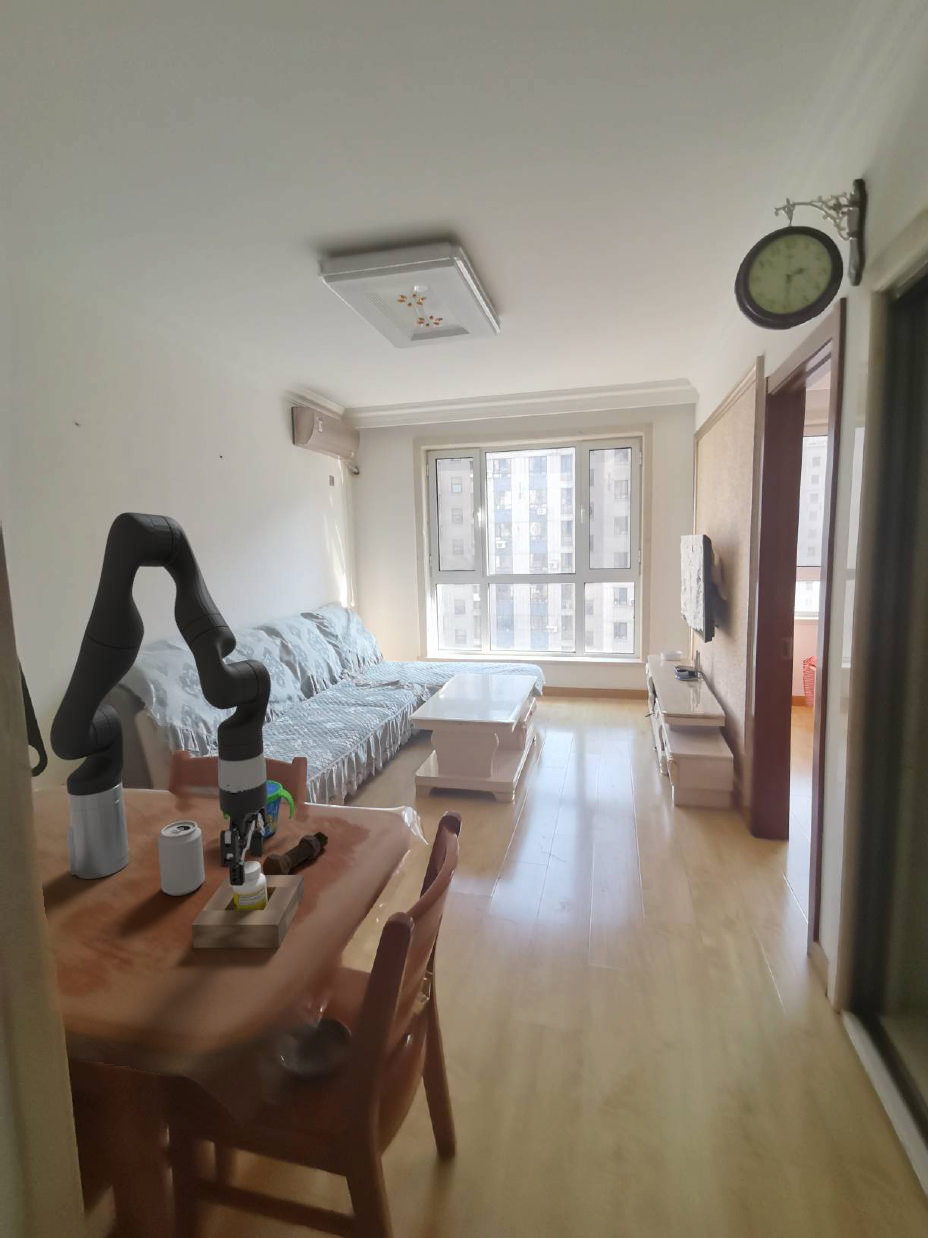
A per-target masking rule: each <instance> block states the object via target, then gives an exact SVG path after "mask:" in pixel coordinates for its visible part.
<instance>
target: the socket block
mask: <svg viewBox="0 0 928 1238" xmlns="http://www.w3.org/2000/svg"><path fill="white" fill-rule="evenodd" d="M263 875H264V874H263ZM264 876H265V878H266V886H267V898H268V903H267V905H266V906H265V908H264V910H235V907H234V895H233V886H232V885H231V884H230V874H229V875H227V876H226V877H225V879H224V880H223V881H222V883H221V884H220V885H219V887H218V888H217V889H216V891H215V893H214V894H213V895H212V896H211V898H210V899H209V901H208V902H207V903H206V905H205V906H204V907H203V908H202V910H201V911H200V913H199V914H198V915H197V917H196V918H195V919H194V921H193V922H192V923H191V924H190V925H191V935H192V936H191V937H192V948H193V949H208V948H209V949H213V948H214V949H216V948H217V949H222V948H223V949H225V948H226V949H228V948H229V949H231V948H232V949H234V948H237V949H238V948H240V949H243V948H248V949H250V948H251V949H253V948H254V949H255V948H256V949H257V948H259V949H260V948H269V949H270V948H274V949H275V948H277V949H278V948H280V947H281V945H282V943H283V942H284V939H285V937H286V935H287V932H288V931H289V928H290V926H291V924H292V922H293V920H294V918H295V916H296V913H297V912H298V910H299V908H300V904H302V901H303V899H304V897H305V882H304V881H305V880H304V875H302V874H288V875H264Z"/></svg>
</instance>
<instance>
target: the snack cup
mask: <svg viewBox="0 0 928 1238" xmlns="http://www.w3.org/2000/svg"><path fill="white" fill-rule="evenodd" d="M282 797H283V798H284V799H285V800H286V803H288V804H289V806H290V807H289V817H288V819H289V820H291V819H292V818H293V816H294V812H295V803H294V799H293V797H292V795H291V794H290V793H289V792H288V791H287V790H285V789H284V788H283V785H282V784H281V783H280V782H277V781H275V780H267V816H268V825H267V827H264V829H265V833H264V835H262V836H263V839H265V838H266V837H268V836H271V835H272V834H274V833H275V832H276V831H277V829H278V823H279V815H280V807H281V801H282ZM222 816H223V817H222V818H223V819H224V820H227V819H230V817H229V816H228V815H227V814H225V813H223V812H222ZM261 819H262V820H263V817H262V816H261ZM251 836H252V835H251Z"/></svg>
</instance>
